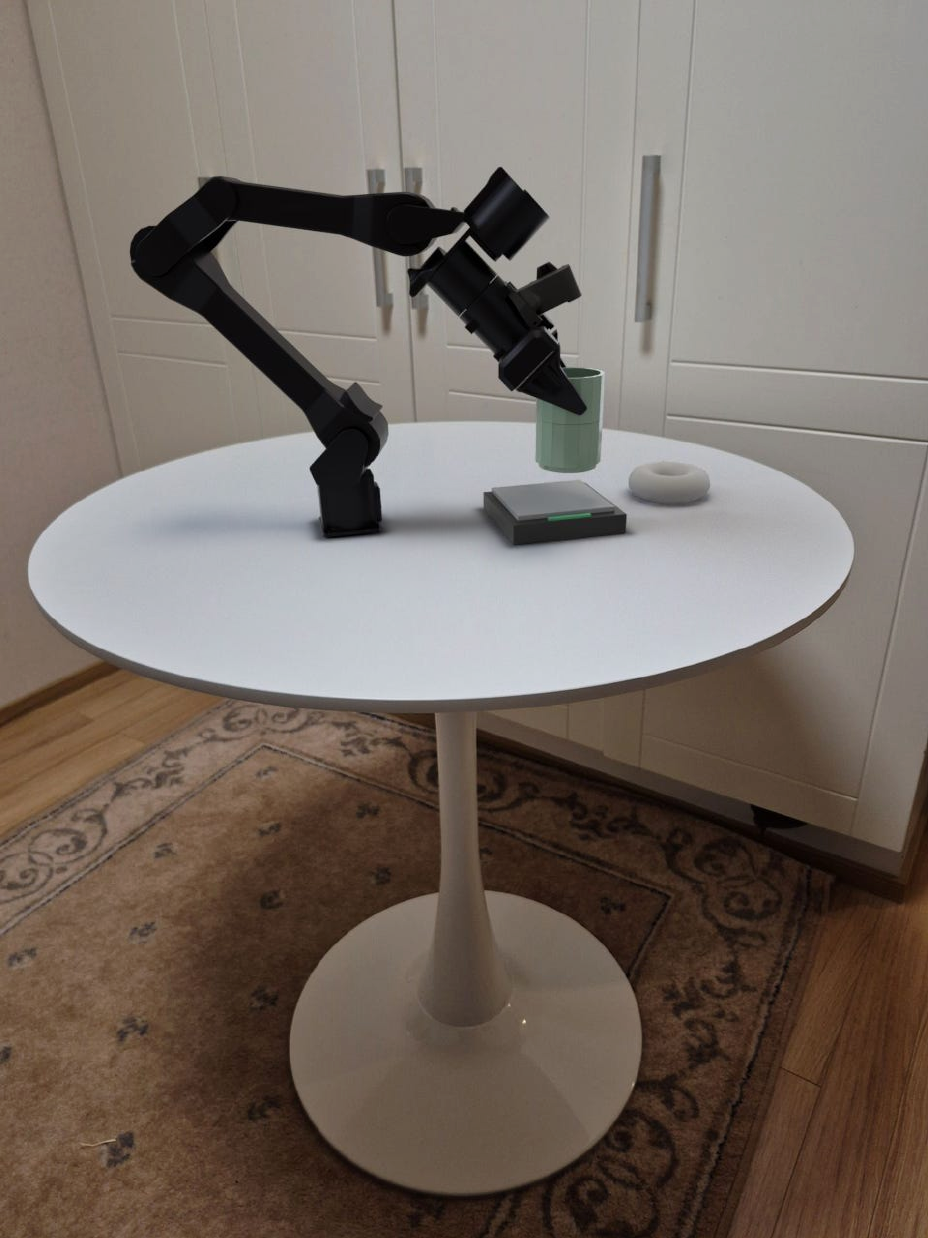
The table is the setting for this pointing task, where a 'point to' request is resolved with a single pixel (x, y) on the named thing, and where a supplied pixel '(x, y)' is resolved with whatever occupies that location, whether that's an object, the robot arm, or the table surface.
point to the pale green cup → (572, 426)
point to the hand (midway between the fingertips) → (582, 404)
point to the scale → (552, 512)
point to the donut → (669, 482)
